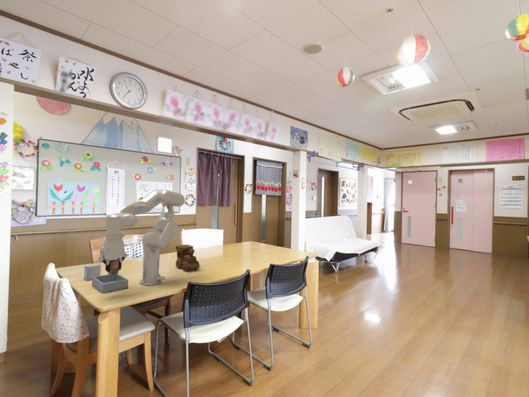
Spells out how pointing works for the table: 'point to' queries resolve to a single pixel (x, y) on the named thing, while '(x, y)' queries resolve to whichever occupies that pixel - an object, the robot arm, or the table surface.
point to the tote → (109, 283)
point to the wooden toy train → (186, 257)
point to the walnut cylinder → (114, 266)
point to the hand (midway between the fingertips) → (113, 270)
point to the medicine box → (91, 271)
